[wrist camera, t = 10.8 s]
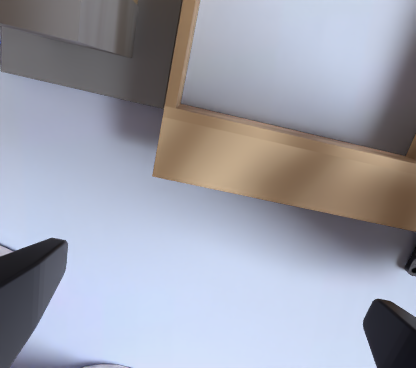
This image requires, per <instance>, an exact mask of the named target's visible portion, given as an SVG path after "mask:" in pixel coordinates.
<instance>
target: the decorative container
mask: <svg viewBox="0 0 416 368" xmlns="http://www.w3.org/2000/svg"><path fill="white" fill-rule="evenodd" d="M83 368H129V367H125V366H121V365H111V364H98V365H92V366H86V367H83Z"/></svg>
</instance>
